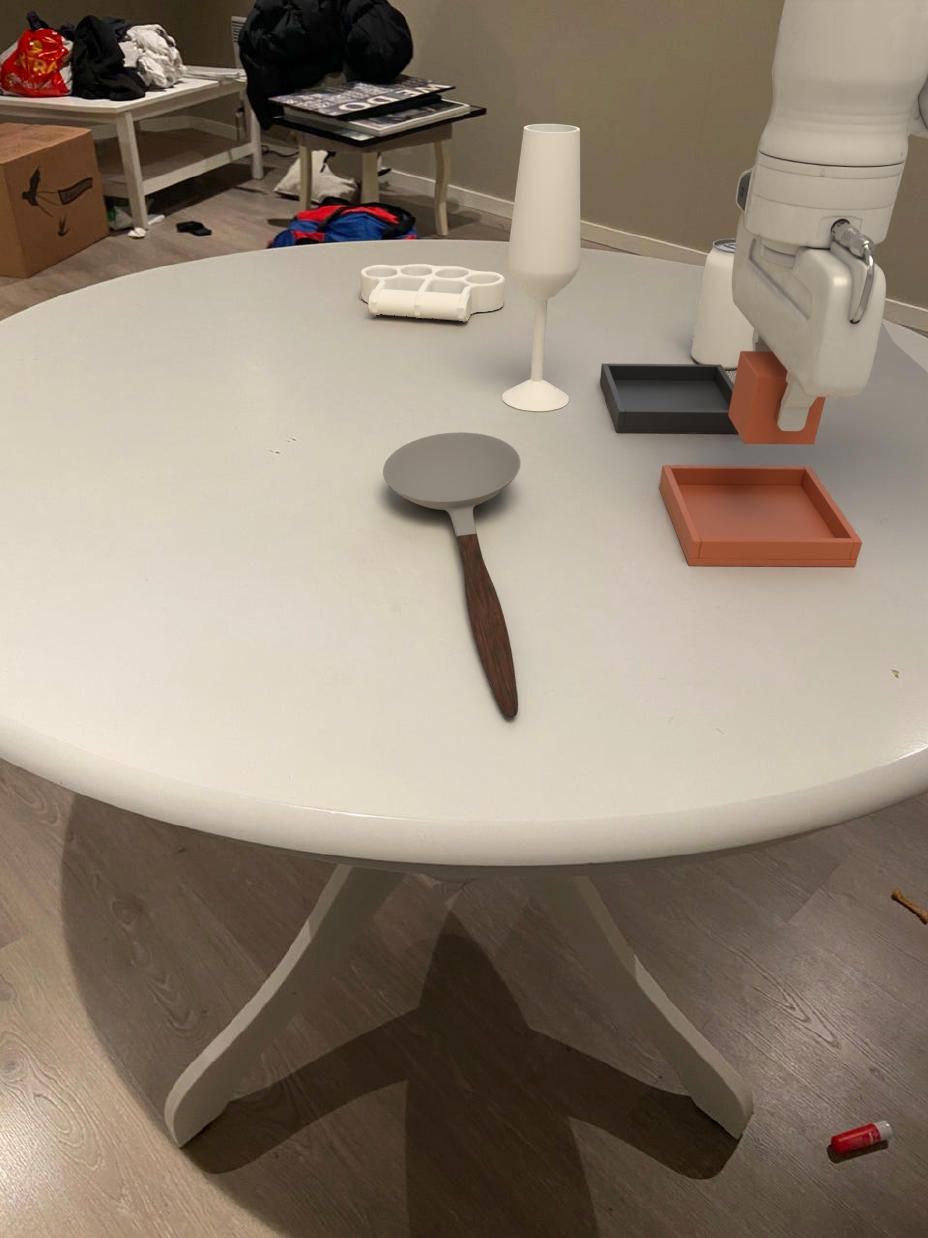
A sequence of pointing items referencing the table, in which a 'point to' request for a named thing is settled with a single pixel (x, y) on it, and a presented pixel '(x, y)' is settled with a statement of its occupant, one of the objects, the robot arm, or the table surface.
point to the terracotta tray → (756, 517)
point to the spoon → (465, 528)
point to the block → (766, 402)
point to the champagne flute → (545, 242)
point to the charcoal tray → (668, 398)
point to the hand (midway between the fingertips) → (774, 408)
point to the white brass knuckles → (430, 290)
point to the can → (720, 313)
